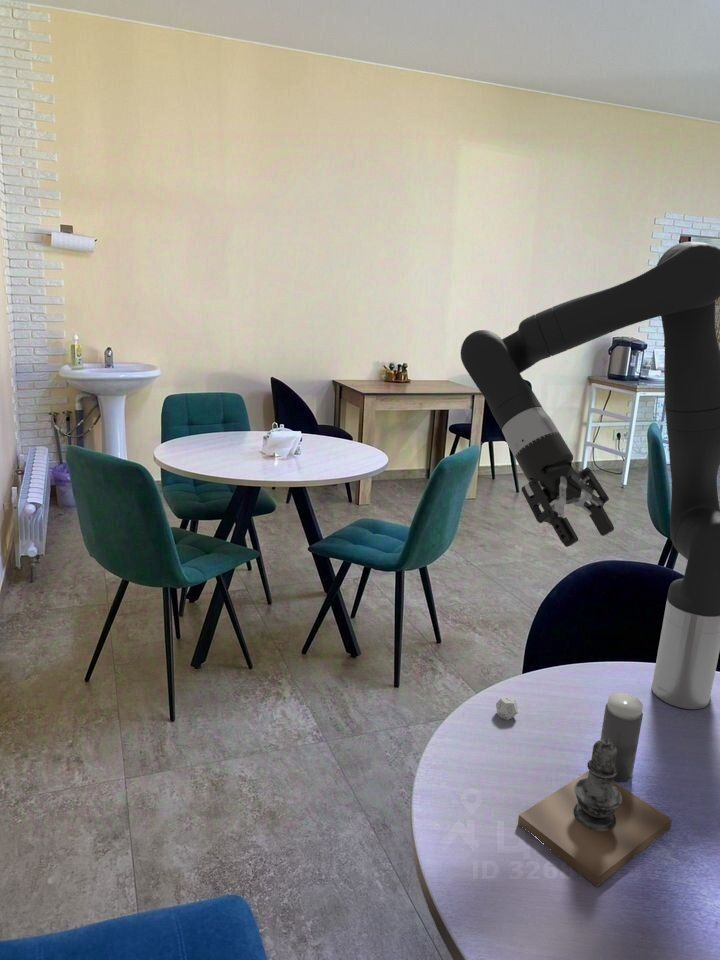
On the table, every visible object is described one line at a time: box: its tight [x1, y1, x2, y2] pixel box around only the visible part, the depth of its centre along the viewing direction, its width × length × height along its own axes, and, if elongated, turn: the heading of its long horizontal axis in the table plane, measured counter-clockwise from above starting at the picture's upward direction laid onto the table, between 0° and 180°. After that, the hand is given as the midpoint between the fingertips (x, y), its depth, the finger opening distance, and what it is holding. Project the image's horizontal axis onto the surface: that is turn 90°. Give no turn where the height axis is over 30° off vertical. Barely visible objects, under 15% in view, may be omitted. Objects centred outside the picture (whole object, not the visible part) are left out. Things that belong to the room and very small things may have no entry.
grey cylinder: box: [599, 692, 644, 783], centre depth 102 cm, size 5×5×11 cm
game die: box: [495, 695, 519, 721], centre depth 115 cm, size 4×4×3 cm
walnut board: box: [517, 770, 673, 888], centre depth 92 cm, size 16×12×2 cm
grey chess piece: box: [574, 737, 622, 831], centre depth 91 cm, size 6×6×12 cm
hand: (591, 538), depth 102 cm, fingers open, 8 cm apart
